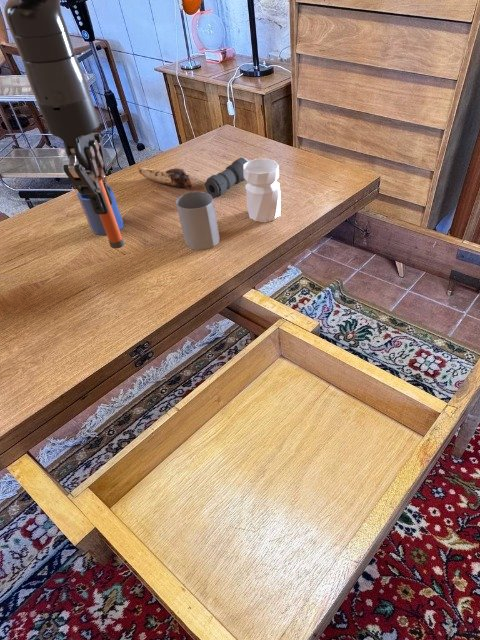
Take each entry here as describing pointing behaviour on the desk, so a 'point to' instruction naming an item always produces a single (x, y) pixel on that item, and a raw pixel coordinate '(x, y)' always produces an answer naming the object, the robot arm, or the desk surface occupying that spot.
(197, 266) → the desk surface
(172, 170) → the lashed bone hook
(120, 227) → the blue cup
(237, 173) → the flashlight
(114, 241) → the handle
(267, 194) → the vase
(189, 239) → the cup
